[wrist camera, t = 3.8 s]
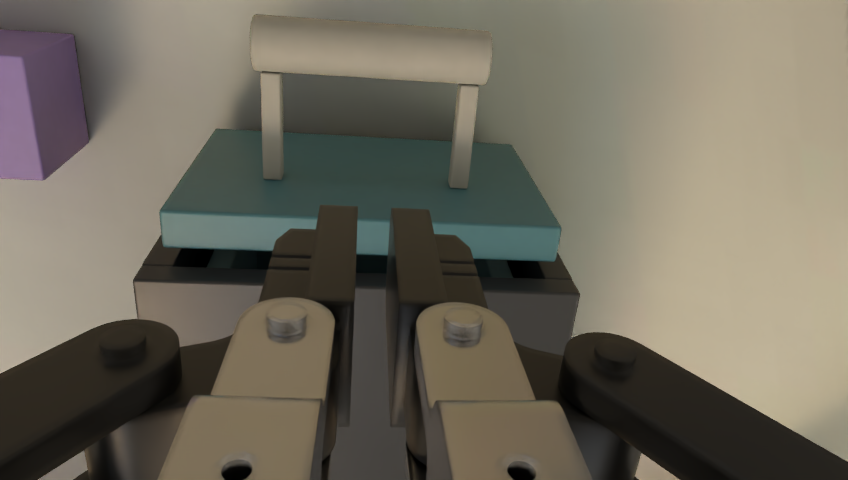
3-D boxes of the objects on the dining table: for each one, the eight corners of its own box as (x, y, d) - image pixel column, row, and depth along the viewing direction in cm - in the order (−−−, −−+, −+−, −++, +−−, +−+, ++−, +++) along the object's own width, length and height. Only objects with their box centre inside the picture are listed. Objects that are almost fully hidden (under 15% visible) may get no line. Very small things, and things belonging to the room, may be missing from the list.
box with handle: (207, -11, 24) (139, 24, 17) (530, 13, 25) (594, 55, 18) (231, 407, 32) (192, 550, 25) (474, 410, 33) (503, 548, 26)
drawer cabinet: (207, 160, 27) (131, 279, 19) (516, 176, 29) (581, 293, 20) (225, 440, 34) (175, 626, 25) (476, 442, 35) (512, 620, 26)
